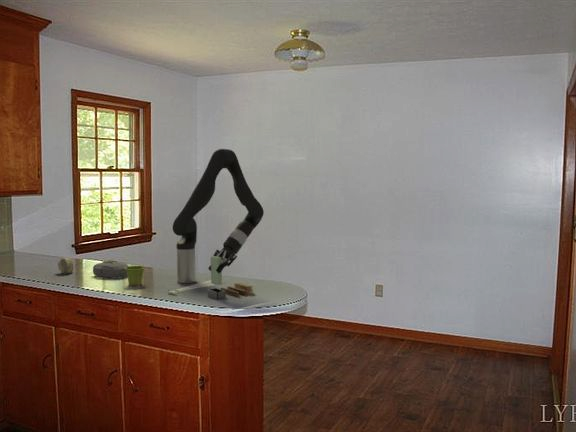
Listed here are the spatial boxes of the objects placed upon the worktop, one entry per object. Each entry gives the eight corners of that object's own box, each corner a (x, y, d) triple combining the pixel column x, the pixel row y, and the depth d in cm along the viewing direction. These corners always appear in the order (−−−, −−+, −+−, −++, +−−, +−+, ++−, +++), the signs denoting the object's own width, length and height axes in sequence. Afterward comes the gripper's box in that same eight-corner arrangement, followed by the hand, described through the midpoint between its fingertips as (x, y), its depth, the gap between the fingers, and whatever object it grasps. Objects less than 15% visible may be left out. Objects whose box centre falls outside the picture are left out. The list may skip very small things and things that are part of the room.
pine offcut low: (237, 289, 243) (237, 285, 243) (253, 293, 234) (253, 289, 234) (231, 290, 241) (231, 286, 241) (246, 294, 232) (246, 290, 232)
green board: (214, 282, 230) (214, 256, 229) (221, 284, 226) (221, 257, 225) (211, 283, 229) (210, 256, 228) (218, 285, 225) (217, 258, 224)
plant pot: (149, 283, 260) (148, 266, 259) (133, 287, 252) (133, 270, 251) (136, 281, 265) (136, 265, 264) (121, 285, 257) (121, 267, 256)
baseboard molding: (230, 285, 259) (211, 282, 265) (230, 279, 259) (211, 277, 265) (187, 298, 233) (168, 295, 239) (187, 292, 232) (167, 288, 239)
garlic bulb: (68, 278, 284) (67, 263, 280) (54, 275, 285) (52, 260, 281) (78, 270, 293) (76, 255, 289) (64, 267, 294) (63, 252, 290)
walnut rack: (237, 290, 245) (237, 284, 244) (255, 295, 234) (255, 289, 234) (219, 294, 238) (218, 287, 237) (237, 299, 227) (236, 293, 227)
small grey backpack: (89, 277, 278) (115, 280, 268) (88, 261, 277) (114, 265, 267) (111, 272, 291) (136, 275, 281) (110, 257, 290) (136, 260, 280)
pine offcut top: (239, 286, 241) (239, 282, 241) (252, 289, 234) (252, 285, 234) (234, 287, 239) (234, 283, 239) (246, 290, 232) (246, 286, 232)
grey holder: (216, 296, 233) (216, 287, 233) (226, 299, 227) (226, 291, 227) (206, 298, 230) (206, 289, 229) (216, 301, 224) (216, 292, 223)
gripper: (221, 234, 237) (199, 263, 230) (240, 237, 226) (217, 268, 219) (231, 245, 241) (209, 273, 234) (249, 248, 230) (228, 278, 223)
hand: (213, 270), depth 226 cm, fingers closed on green board, 5 cm apart
